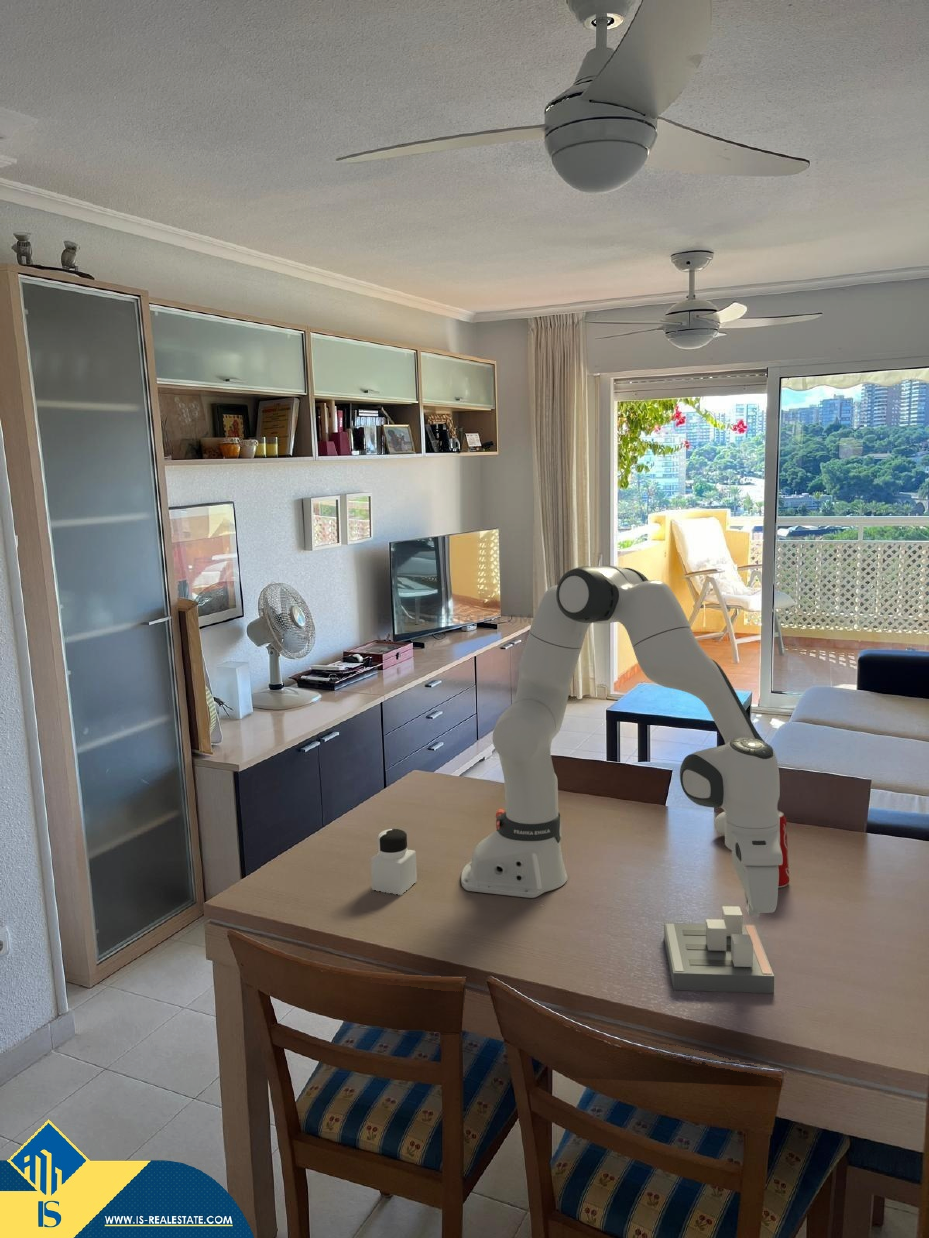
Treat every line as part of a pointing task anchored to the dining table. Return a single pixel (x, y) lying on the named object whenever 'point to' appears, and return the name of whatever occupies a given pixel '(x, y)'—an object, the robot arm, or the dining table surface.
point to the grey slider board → (713, 962)
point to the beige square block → (715, 934)
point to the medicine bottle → (393, 863)
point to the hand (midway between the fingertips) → (752, 912)
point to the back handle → (732, 919)
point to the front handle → (742, 950)
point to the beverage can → (783, 852)
